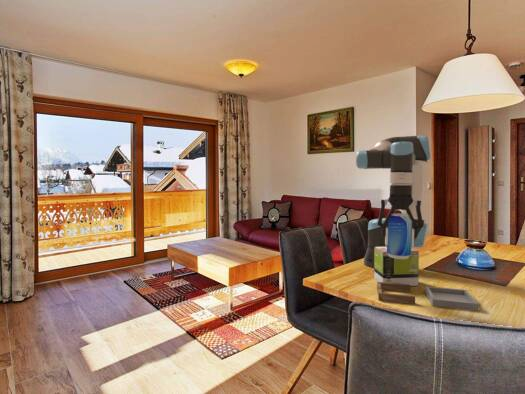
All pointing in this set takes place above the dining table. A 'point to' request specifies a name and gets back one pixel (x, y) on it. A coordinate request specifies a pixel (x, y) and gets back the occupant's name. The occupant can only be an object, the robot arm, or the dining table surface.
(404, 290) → the frame
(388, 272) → the tea box
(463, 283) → the dining table surface
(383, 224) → the robot arm
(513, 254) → the dining table surface
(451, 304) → the tray
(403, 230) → the beer can
